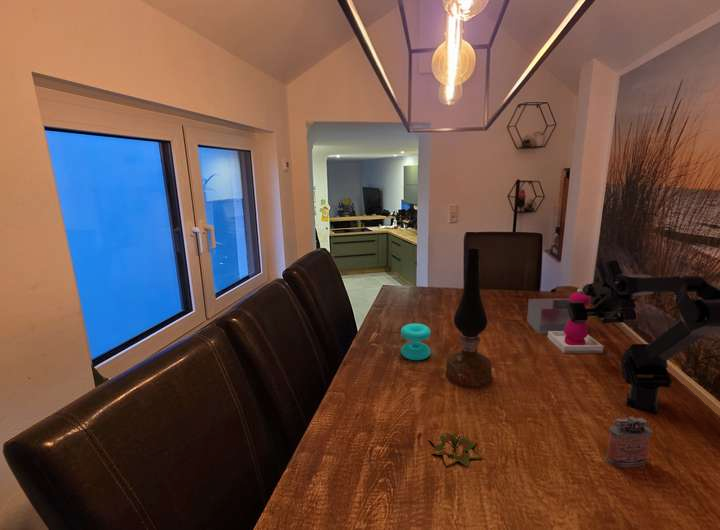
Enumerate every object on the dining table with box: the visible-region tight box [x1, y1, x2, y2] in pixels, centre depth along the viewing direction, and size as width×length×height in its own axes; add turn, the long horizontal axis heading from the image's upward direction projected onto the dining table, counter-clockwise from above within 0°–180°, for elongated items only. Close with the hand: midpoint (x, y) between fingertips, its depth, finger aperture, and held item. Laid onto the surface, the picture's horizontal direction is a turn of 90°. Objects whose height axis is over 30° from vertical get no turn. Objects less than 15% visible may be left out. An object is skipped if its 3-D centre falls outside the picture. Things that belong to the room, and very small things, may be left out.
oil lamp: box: [444, 248, 493, 389], centre depth 112 cm, size 14×15×40 cm
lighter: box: [605, 415, 653, 468], centre depth 76 cm, size 8×3×10 cm, turn 92°
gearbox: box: [526, 297, 570, 335], centre depth 144 cm, size 12×16×13 cm
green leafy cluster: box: [433, 428, 484, 468], centre depth 82 cm, size 12×12×5 cm
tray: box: [547, 331, 604, 354], centre depth 130 cm, size 13×13×2 cm
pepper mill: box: [564, 288, 591, 345], centre depth 127 cm, size 7×7×20 cm
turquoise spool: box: [400, 323, 432, 361], centre depth 126 cm, size 10×10×10 cm
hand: (588, 322), depth 121 cm, fingers open, 9 cm apart
